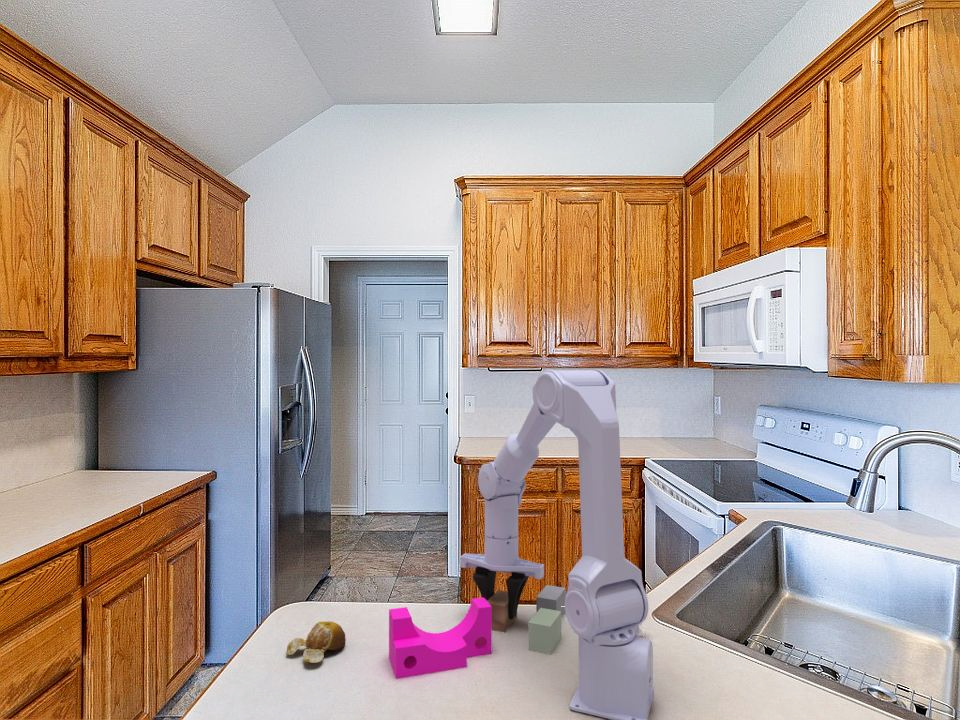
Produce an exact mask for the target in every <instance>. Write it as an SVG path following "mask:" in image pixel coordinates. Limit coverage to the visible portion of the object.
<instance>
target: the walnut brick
mask: <svg viewBox="0 0 960 720" xmlns="http://www.w3.org/2000/svg"><path fill="white" fill-rule="evenodd" d="M494 593H495V594H494V595H493V596H491V597H490V598H489V599H488V600H487V602H488V603H489V604H490V605H491V607H492V631H495V632H500V633H506V631H507V630H508V629H509V628H510V627H511V626H512V624H514V622H515V621H516V620H517V619H518V614H517V615H516V616H515V617H514V618H513V619H509V615H508V603H509V600H508V590H507V591H505V590H500V589H498V590H496V592H494Z"/></svg>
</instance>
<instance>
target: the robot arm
mask: <svg viewBox="0 0 960 720" xmlns="http://www.w3.org/2000/svg"><path fill="white" fill-rule="evenodd" d="M616 394H617V393H616V383H615V382H614V381H613V380H612V379H611V377H609V376H608V374H606V373H605V372H604V371H603V370H601V369H596V368H594V369H589V370H588V369H587V370H586V369H585V370H582V369H581V370H580V369H579V370H576V369H575V370H574V369H573V370H572V369H571V370H570V369H569V370H566V369H565V370H564V369H563V370H555V369H550V368H549V369H545V370H543V371H541V373H539V374H538V377H537V379H536V382H535V384H534V385H533V386H532V400H533V403H532V406H531V408H530V410H529V412H528V414H527V416H526V418H525V420H524V422H523V424H522V426H521V428H520V431H519V433H518V432H517V433H512V434H511V435H510V434H509V435H508V437H507V438H506V440H505V442H504V444H503V445H502V447H501V449H500V451H498V453H497V455H496V456H495V458H494V460H493V461H489V463H484V464H482V465H481V466H480V469H479V472H478V476H477V484H478V488H479V489H478V490H479V491H480V494H481V496H482V498H484V554H483V553H482V554H481V553H466V552H465V553H463V554H462V555H460V568H463V569H467V568H471V569H475V571H474V573H473V574H472V578H473V581H474V583H475V585H476V586H477V588H478V591H479V593H480V596H481V598H483V597H484V598H485V599H486V601H487V600H488V599H489V598H490V597H491V596H493V595H494V594H495V593H496V592H495V586H496V585H495V584H496V576H497V572H498V573H506V574H511V575H509V576H508V578H506V580H505V583H506V587H507V588H506V589H507V592H508V600H509V603H508V615H509V619H513V618H514V617H515V616H516V615H517V616H518V608H519V604H520V599H521V597H522V593H523V591H524V589H525V586H526V585H527V582H528V579H529V578H534V579H535V580H542V579H543V577H544V576H545V564H543V563H538V562H533V561H530V560H527V559H523V558H520V557H519V508H520V507H521V505H522V503H523V502H522V501H523V500H522V497H523V494H524V492H525V490H526V483H527V482H526V480H525V477H526V476H527V474H528V473H529V472H530V470H531V468H532V467H533V465H534V464H535V463H536V461H537V460H538V458H539V457H540V449H539V444H540V443H541V442H542V441H543V440H544V439H545V437H546V436H547V435H548V433H550V431H552V430H551V429H553V427H554V426H555V425H556V424H557V423H558V424H559V425H560V426H562V427H564V428H566V429H569V430H570V431H571V433H572V434H573V435H574V436H575V437H576V438H577V443H578V444H577V446H578V449H577V450H578V470H579V471H578V472H579V473H578V476H579V500H580V501H579V502H580V503H579V504H580V527H581V528H580V529H581V530H580V531H581V554H582V555H581V557H580V558H579V560H578V561H577V563H576V564H575V565H574V567H573V568H572V569H571V571H570V572H569V573H568V575H567V576H568V587H567V591H566V598H565V613H564V614H565V617H566V619H567V622H568V625H569V626H570V628H571V629H572V630H573V632H574V634H576V635H577V636H578V685H577V686H578V687H577V689H576V691H575V693H574V694H573V697H572V699H571V701H570V703H569V704H568V705H569V710H571V711H576V712H579V713H583V714H587V715H591V716H597V717H600V718H604V719H608V720H649V719H648V718H649V715H650V711H651V708H652V703H653V702H654V696H655V695H654V694H655V693H654V691H655V688H654V666H653V665H654V652H653V651H654V649H653V647H654V646H653V641H652V640H651V639H648V638H646V637H643V636H641V637H640V636H638V635H637V633H639V624H640V623H642V624H643V622H644V621H646V619H647V617H648V613H649V601H648V596H647V593H646V590H645V588H644V584H643V576H642V574H643V572H642V570H641V569H640V568H639V567H638V566H636V565H635V564H634V563H632V562H631V561H630V560H628V559H627V558H626V557H625V545H624V544H625V543H624V542H625V541H624V538H625V537H624V519H623V518H624V515H623V494H622V493H623V491H622V489H623V488H622V487H623V486H622V469H621V468H622V466H621V443H620V423H619V422H620V421H619V418H618V414H617V399H616V398H617V396H616Z"/></svg>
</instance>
